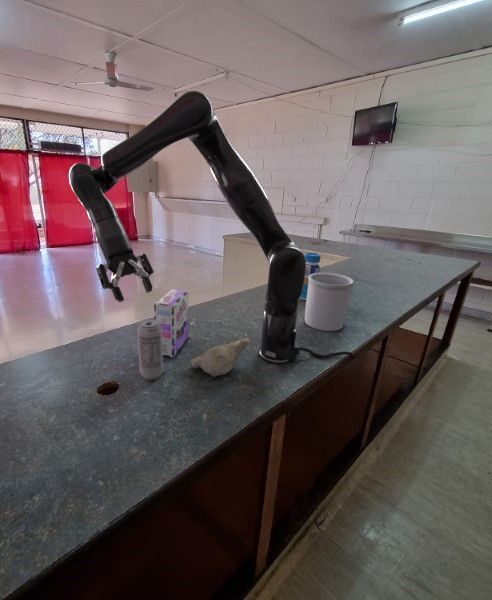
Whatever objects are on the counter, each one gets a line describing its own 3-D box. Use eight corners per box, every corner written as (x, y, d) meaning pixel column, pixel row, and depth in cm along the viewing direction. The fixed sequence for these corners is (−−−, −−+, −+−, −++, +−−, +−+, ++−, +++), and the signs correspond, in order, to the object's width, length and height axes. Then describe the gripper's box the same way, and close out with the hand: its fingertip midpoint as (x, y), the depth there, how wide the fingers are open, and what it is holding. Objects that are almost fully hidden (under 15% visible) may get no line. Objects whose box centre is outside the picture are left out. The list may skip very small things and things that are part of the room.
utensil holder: (337, 336, 107) (347, 287, 101) (296, 324, 116) (302, 278, 109) (349, 322, 118) (358, 277, 112) (310, 312, 127) (317, 270, 120)
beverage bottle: (293, 294, 147) (299, 252, 140) (311, 294, 148) (317, 252, 141) (300, 301, 139) (307, 256, 132) (319, 300, 140) (326, 256, 133)
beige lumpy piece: (191, 390, 81) (237, 367, 74) (180, 363, 83) (224, 338, 76) (220, 378, 94) (261, 358, 87) (210, 355, 96) (250, 334, 89)
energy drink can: (165, 368, 86) (164, 318, 81) (160, 381, 80) (158, 328, 75) (144, 367, 86) (141, 316, 81) (137, 379, 81) (133, 326, 76)
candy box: (173, 358, 91) (173, 305, 85) (155, 355, 92) (152, 303, 87) (188, 337, 104) (189, 290, 98) (172, 335, 105) (171, 288, 99)
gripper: (91, 239, 75) (117, 302, 76) (142, 229, 84) (164, 285, 85) (82, 249, 81) (106, 307, 82) (130, 239, 90) (152, 291, 91)
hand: (136, 296), depth 83 cm, fingers open, 8 cm apart
